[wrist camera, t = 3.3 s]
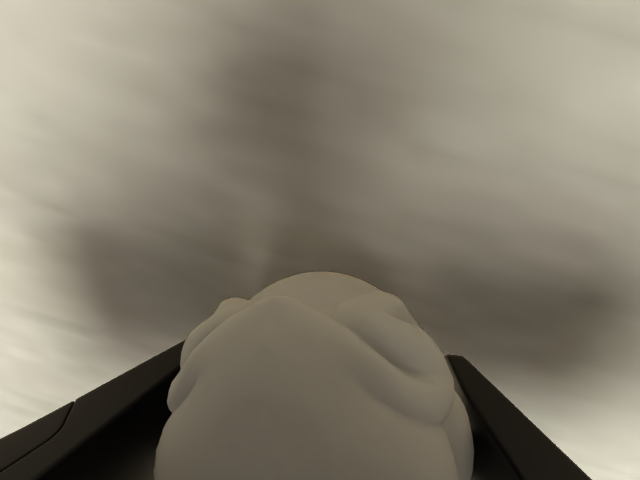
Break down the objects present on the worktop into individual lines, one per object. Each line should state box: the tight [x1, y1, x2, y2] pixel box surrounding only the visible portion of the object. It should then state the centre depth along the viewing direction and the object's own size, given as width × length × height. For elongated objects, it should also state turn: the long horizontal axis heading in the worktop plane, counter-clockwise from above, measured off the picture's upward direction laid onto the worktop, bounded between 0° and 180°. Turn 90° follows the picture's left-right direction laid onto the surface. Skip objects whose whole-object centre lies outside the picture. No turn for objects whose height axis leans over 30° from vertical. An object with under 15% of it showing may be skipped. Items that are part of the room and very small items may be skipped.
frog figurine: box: [153, 271, 474, 480], centre depth 6 cm, size 6×7×7 cm
